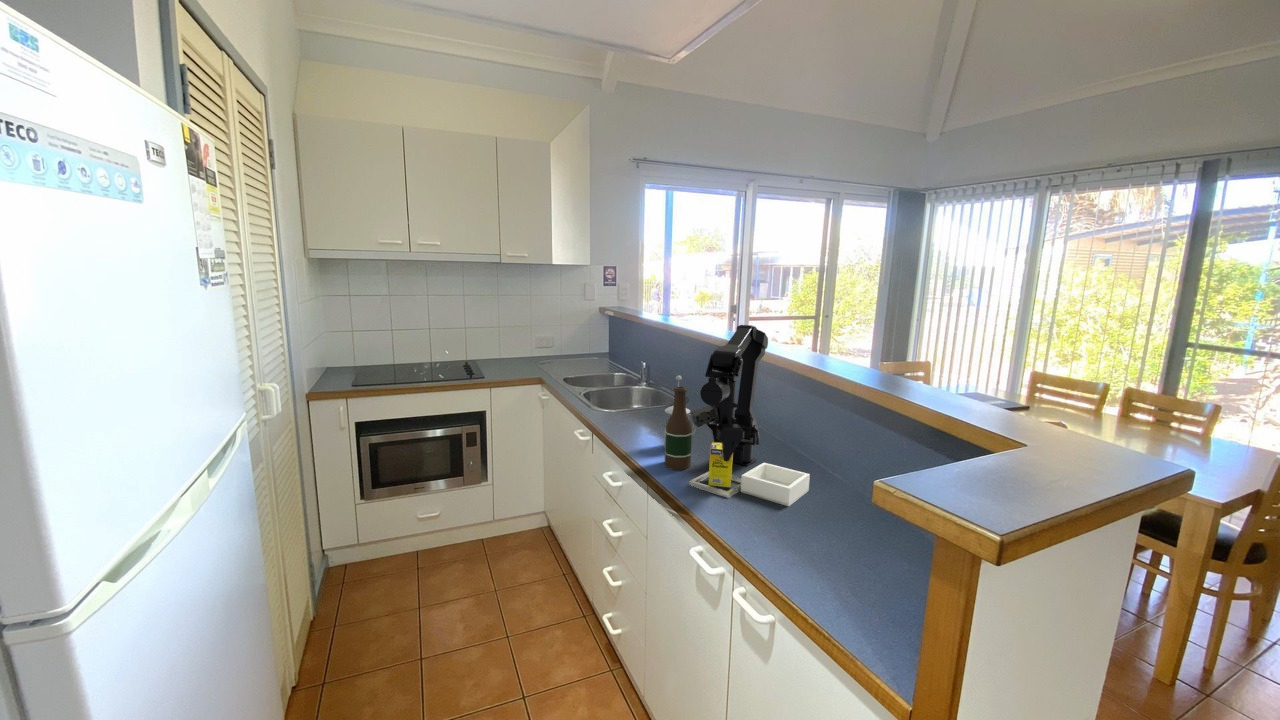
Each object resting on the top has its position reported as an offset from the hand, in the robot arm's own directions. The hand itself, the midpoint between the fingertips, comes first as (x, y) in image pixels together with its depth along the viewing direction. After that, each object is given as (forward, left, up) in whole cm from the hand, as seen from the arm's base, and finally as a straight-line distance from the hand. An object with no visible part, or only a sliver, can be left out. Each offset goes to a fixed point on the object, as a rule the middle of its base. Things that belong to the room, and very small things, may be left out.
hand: (721, 455), depth 135 cm
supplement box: (0, 0, -9) cm, 9 cm away
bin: (-6, +13, -8) cm, 17 cm away
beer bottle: (-3, -16, -9) cm, 18 cm away
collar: (0, 0, -8) cm, 8 cm away
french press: (-15, -24, -9) cm, 29 cm away
